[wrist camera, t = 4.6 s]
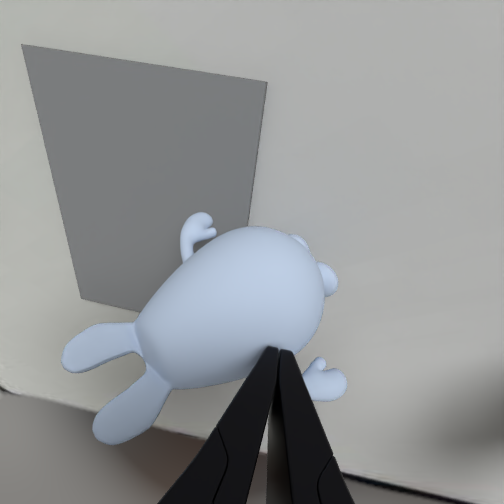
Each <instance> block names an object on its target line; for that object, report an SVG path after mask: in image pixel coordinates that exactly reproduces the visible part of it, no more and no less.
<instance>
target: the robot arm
mask: <svg viewBox="0 0 504 504" xmlns="http://www.w3.org/2000/svg"><path fill="white" fill-rule="evenodd" d="M268 414H269V419H268V452H267V489H266V504H355V503H354V501H353V499H352V497H351V495H350V492H349V490H348V488H347V486H346V483H345V481H344V478H343V476H342V474H341V471H340V469H339V466H338V464H337V461H336V459H335V457H334V456H333V452H332V449H331V447H330V444H329V442H328V439H327V437H326V434H325V432H324V429H323V427H322V424H321V422H320V419H319V417H318V414H317V412H316V409H315V407H314V404H313V402H312V399H311V397H310V394H309V392H308V389H307V387H306V384H305V381H304V379H303V376H302V374H301V371H300V369H299V366H298V364H297V361H296V359H295V356H294V354H293V352H292V351H291V350H286V349H280V351H279V349H278V348H277V347H273V346H267V347H266V348H265V350H264V351H263V353H262V354H261V356H260V358H259V359H258V361H257V362H256V364H255V365H254V367H253V369H252V370H251V372H250V373H249V375H248V376H247V378H246V380H245V381H244V383H243V384H242V386H241V387H240V389H239V391H238V392H237V394H236V395H235V397H234V398H233V400H232V402H231V403H230V405H229V406H228V408H227V409H226V411H225V413H224V414H223V416H222V417H221V419H220V420H219V422H218V424H217V425H216V427H215V428H214V430H213V431H212V433H211V434H210V436H209V437H208V439H207V440H206V442H205V444H204V445H203V447H202V448H201V449H200V451H199V452H198V454H197V455H196V456H195V458H194V459H193V460H192V461H191V463H190V464H189V466H188V467H187V468H186V469H185V471H184V472H183V473H182V474H181V475H180V477H179V478H178V479H177V480H176V482H175V483H174V484H173V485H172V487H171V488H170V489H169V490H168V491H167V493H166V494H165V495H164V496H163V497H162V499H161V500H160V501H159V502H158V504H246V502H247V498H248V494H249V490H250V486H251V482H252V478H253V474H254V470H255V466H256V462H257V458H258V454H259V450H260V446H261V442H262V438H263V434H264V430H265V426H266V422H267V418H268Z"/></svg>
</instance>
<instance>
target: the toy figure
mask: <svg viewBox="0 0 504 504" xmlns="http://www.w3.org/2000/svg"><path fill="white" fill-rule="evenodd" d="M212 224H213V220H212V217H211V216H210V215H209V214H207V213H204V212H198V213H195V214H193V215H191V216H190V217H189V218H188V219H187V220H186V222H185V223H184V225H183V227H182V230H181V234H180V251H181V257H182V261H183V264H182V265H181V266H180V267H179V268H178V269H177V270H176V271H175V272H174V273H173V274H172V275H171V276H170V277H169V278H168V279H167V280H166V281H165V282H164V283H163V285H162V286H161V287H160V288H159V289H158V290H157V292H156V293H155V294H154V295H153V296H152V298H151V299H150V300H149V302H148V303H147V304H146V306H145V307H144V308H143V310H142V311H141V313H140V314H139V316H138V318H137V319H136V320H135V321H134V322H131V323H99V324H95V325H93V326H91V327H89V328H87V329H85V330H84V331H82V332H81V333H79V334H78V335H76V336H75V337H74V338H73V339H71V340H70V341H69V342H68V343H67V345H66V346H65V348H64V350H63V353H62V357H61V363H62V365H63V367H64V369H65V370H67V371H69V372H71V373H82V372H86V371H89V370H91V369H94V368H96V367H98V366H100V365H102V364H104V363H106V362H108V361H111V360H113V359H116V358H119V357H121V356H124V355H126V354H129V353H136V354H138V355H139V356H141V357H142V358H143V360H144V362H145V364H146V372H145V373H144V375H143V376H142V377H141V378H139V379H138V380H137V381H136V382H135V383H133V384H132V385H131V386H130V387H129V388H128V389H126V390H125V391H124V392H122V393H121V394H119V395H118V396H117V397H115V398H114V399H112V400H111V401H110V402H109V403H107V404H106V405H105V406H104V407H103V408H102V409H101V410H100V411H99V412H98V414H97V415H96V417H95V419H94V422H93V433H94V435H95V437H96V439H97V440H99V441H101V442H103V443H105V444H108V445H116V444H120V443H124V442H126V441H128V440H130V439H132V438H134V437H136V436H138V435H140V434H141V433H143V432H145V431H146V430H147V429H149V428H150V427H151V426H152V424H153V423H154V421H155V420H156V418H157V416H158V415H159V413H160V411H161V409H162V407H163V405H164V403H165V401H166V399H167V397H168V396H169V394H170V392H171V390H172V389H192V388H200V387H207V386H212V385H218V384H223V383H227V382H231V381H235V380H239V379H242V378H246V377H247V376H248V375H249V373H250V372H251V370H252V369H253V367H254V365H255V364H256V362H257V361H258V359H259V358H260V356H261V354H262V353H263V351H264V350H265V348H266V347H267V346H273V347H277V348H278V349H279V351H280V349H286V350H291V351H292V352H293V354H294V355H295V354H297V353H298V352H299V351H300V350H301V349H302V348H304V346H305V345H306V344H307V343H308V342H309V341H310V339H311V338H312V337H313V335H314V333H315V332H316V330H317V328H318V326H319V323H320V321H321V318H322V314H323V309H324V299H325V297H328V296H331V295H333V294H334V293H335V292H336V290H337V287H338V278H337V275H336V273H335V272H334V270H333V269H332V268H331V267H330V266H328V265H327V264H325V263H322V262H316V261H315V259H314V257H313V256H312V255H311V253H310V250H309V247H308V245H307V243H306V242H305V240H304V239H303V238H301V237H300V236H298V235H295V234H289V235H287V234H285V233H283V232H281V231H278V230H275V229H271V228H267V227H259V226H250V227H242V228H238V229H234V230H231V231H228V232H226V233H224V234H222V235H220V236H218V237H216V238H215V239H213V240H212V241H210V242H209V243H207V244H206V245H204V246H203V247H202V248H200V249H199V250H198V251H197V252H195V253H194V252H193V245H194V244H195V243H197V242H200V241H203V240H206V239H210V238H213V237H215V236H216V235H217V231H216V229H215V228H213V227H212V228H209V227H211V225H212ZM325 367H326V361H325V360H324V359H323V358H321V357H317V358H316V359H315V360H314V361H313V362H312V363H311V364H310V366H309V367H308V369H307V370H306V371H305V372H304V373H303V374H302V376H303V379H304V381H305V384H306V387H307V389H308V392H309V394H310V397H311V399H312V400H313V401H324V402H325V401H333V400H336V399H338V398H339V397H341V396H342V395H343V394H344V393H345V391H346V388H347V380H346V377H345V375H344V374H343V373H342V371H340V370H339V369H335V368H333V369H329V370H326V371H323V370H324V368H325Z"/></svg>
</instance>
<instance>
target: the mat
mask: <svg viewBox="0 0 504 504" xmlns="http://www.w3.org/2000/svg"><path fill="white" fill-rule="evenodd" d="M21 46H22V50H23V54H24V59H25V63H26V67H27V71H28V76H29V80H30V84H31V88H32V92H33V97H34V101H35V105H36V109H37V114H38V118H39V122H40V126H41V131H42V135H43V139H44V143H45V148H46V152H47V156H48V160H49V164H50V169H51V173H52V177H53V181H54V186H55V190H56V194H57V198H58V203H59V207H60V211H61V215H62V219H63V224H64V228H65V232H66V236H67V241H68V245H69V249H70V253H71V258H72V262H73V266H74V270H75V275H76V279H77V283H78V287H79V291H80V296H81V299H85V300H90V301H94V302H98V303H103V304H107V305H111V306H116V307H120V308H125V309H129V310H133V311H138V312H141V311H142V310H143V308H144V307H145V306H146V304H147V303H148V302H149V300H150V299H151V298H152V296H153V295H154V294H155V293H156V292H157V290H158V289H159V288H160V287H161V286H162V285H163V283H164V282H165V281H166V280H167V279H168V278H169V277H170V276H171V275H172V274H173V273H174V272H175V271H176V270H177V269H178V268H179V267H180V266H181V265H182V264H183V261H182V257H181V251H180V234H181V230H182V227H183V225H184V223H185V222H186V220H187V219H188V218H189V217H190V216H191V215H193V214H195V213H198V212H204V213H207V214H209V215H210V216H211V217H212V220H213V224H212V225H211V227H209V228H212V227H213V228H215V229H216V231H217V235H216V236H215V237H213V238H210V239H206V240H203V241H200V242H197V243H195V244H194V245H193V252H194V253H195V252H197V251H198V250H199V249H200V248H202V247H203V246H204V245H206V244H207V243H209V242H210V241H212V240H213V239H215V238H216V237H218V236H220V235H222V234H224V233H226V232H228V231H231V230H234V229H238V228H242V227H248V220H249V213H250V205H251V198H252V191H253V184H254V176H255V169H256V162H257V154H258V147H259V140H260V132H261V125H262V118H263V110H264V103H265V96H266V89H267V82H265V81H258V80H252V79H245V78H239V77H232V76H226V75H219V74H213V73H206V72H200V71H193V70H187V69H180V68H174V67H167V66H161V65H154V64H148V63H141V62H135V61H128V60H121V59H115V58H108V57H102V56H95V55H89V54H82V53H76V52H69V51H63V50H56V49H50V48H43V47H37V46H30V45H24V44H21Z"/></svg>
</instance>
